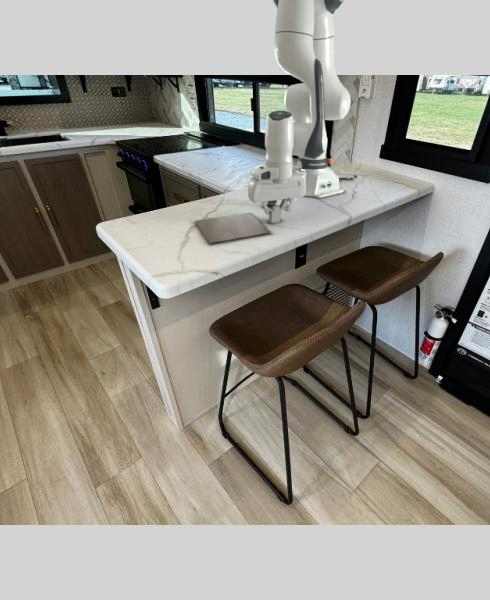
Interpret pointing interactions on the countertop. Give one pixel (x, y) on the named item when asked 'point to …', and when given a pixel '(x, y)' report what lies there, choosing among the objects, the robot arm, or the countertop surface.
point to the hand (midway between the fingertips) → (277, 211)
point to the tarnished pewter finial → (271, 204)
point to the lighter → (277, 211)
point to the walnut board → (231, 228)
